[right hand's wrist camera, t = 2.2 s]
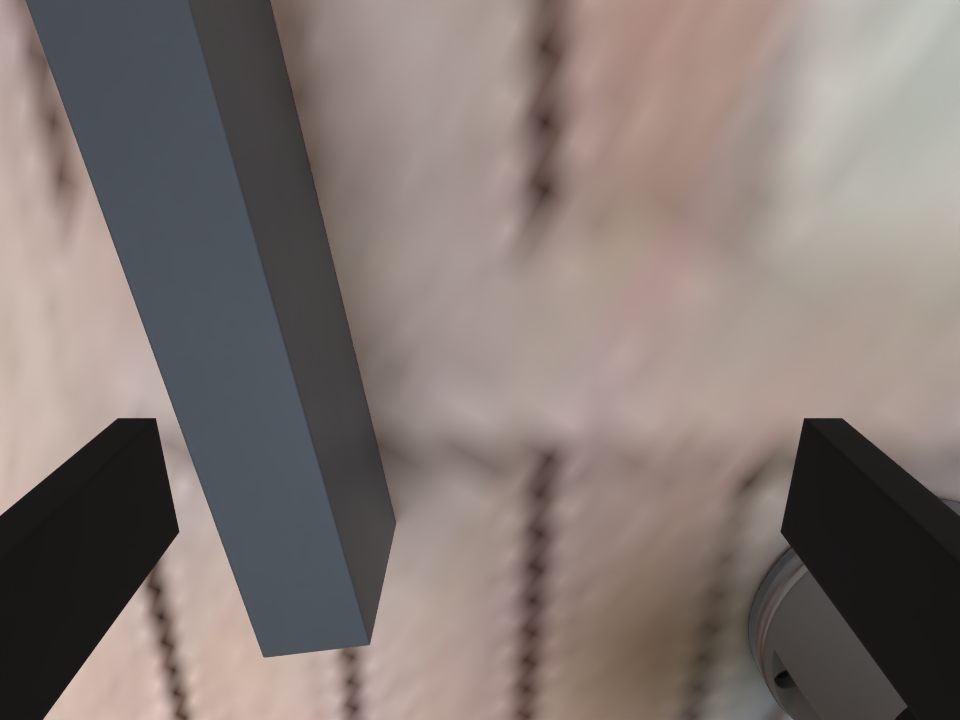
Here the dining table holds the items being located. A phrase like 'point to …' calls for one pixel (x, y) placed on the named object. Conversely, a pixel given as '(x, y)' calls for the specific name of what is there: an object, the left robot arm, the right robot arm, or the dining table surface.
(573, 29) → the dining table surface
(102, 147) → the bar
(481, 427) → the dining table surface
